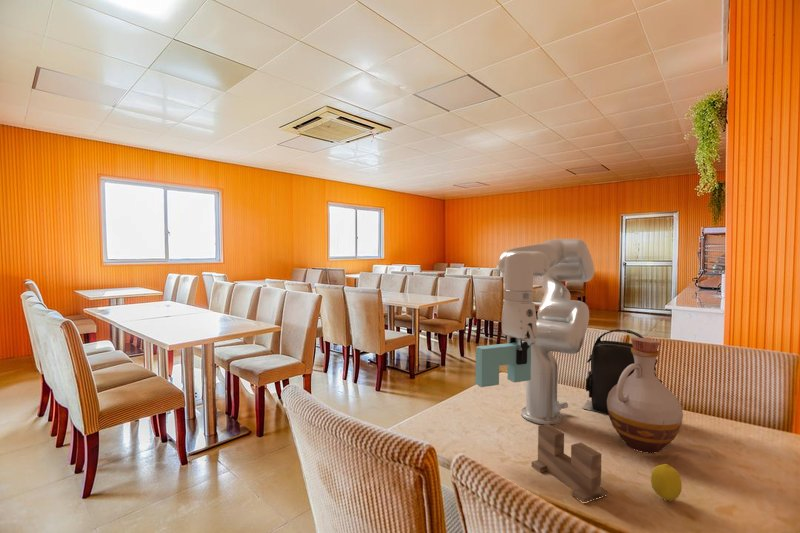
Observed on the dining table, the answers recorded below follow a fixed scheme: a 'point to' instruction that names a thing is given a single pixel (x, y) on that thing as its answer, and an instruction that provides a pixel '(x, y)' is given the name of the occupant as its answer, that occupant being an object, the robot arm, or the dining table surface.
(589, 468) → the walnut stand
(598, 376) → the shoulder bag
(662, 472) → the lemon
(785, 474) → the dining table surface
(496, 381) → the teal notched arch
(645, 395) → the jug
